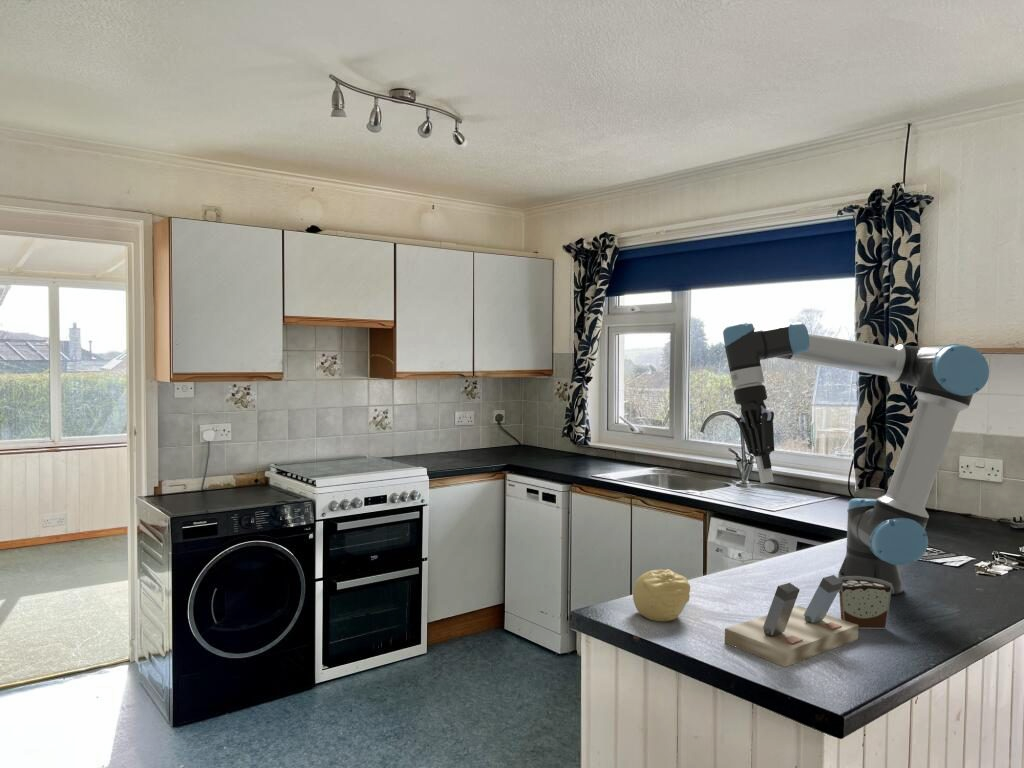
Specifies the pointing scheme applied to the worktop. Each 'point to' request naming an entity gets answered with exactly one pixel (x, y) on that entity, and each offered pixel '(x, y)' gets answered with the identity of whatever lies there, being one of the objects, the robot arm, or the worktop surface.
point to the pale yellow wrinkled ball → (661, 594)
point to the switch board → (792, 637)
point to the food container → (865, 601)
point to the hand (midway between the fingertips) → (767, 482)
